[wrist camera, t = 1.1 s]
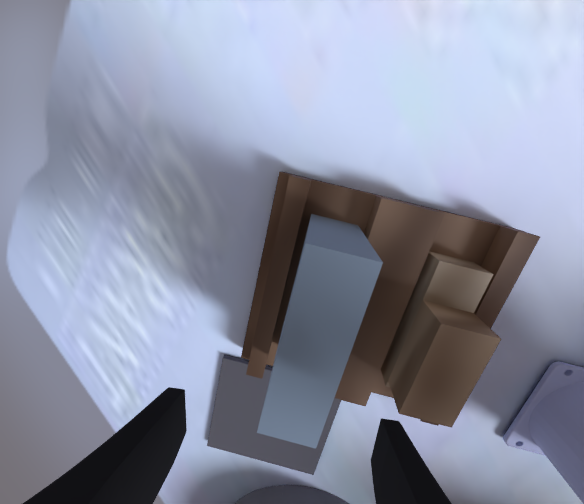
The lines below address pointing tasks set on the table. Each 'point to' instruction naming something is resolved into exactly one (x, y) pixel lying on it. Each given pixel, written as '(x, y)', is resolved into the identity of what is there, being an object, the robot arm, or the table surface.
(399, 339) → the block
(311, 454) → the mat
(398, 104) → the table surface
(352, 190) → the rack
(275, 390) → the blue-grey rectangular block
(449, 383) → the offcut short
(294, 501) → the tape roll
